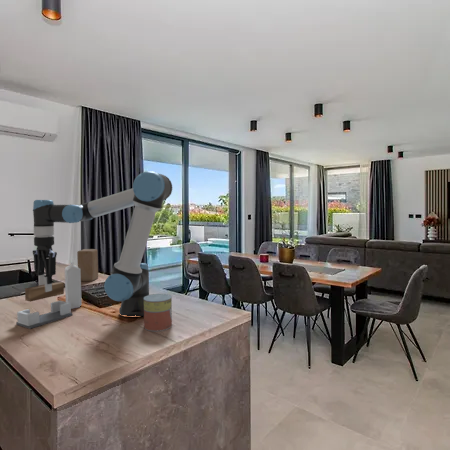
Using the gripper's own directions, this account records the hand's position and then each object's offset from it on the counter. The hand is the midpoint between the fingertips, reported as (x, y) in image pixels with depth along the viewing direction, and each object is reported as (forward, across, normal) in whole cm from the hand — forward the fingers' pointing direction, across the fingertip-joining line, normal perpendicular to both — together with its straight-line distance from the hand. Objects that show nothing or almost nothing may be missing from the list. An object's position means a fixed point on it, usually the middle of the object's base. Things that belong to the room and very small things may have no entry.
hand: (45, 290), depth 142 cm
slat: (+3, 0, 0) cm, 3 cm away
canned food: (+12, -47, -18) cm, 52 cm away
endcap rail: (+13, +1, 0) cm, 13 cm away
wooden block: (+14, +50, -62) cm, 80 cm away
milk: (+13, +7, -18) cm, 24 cm away
